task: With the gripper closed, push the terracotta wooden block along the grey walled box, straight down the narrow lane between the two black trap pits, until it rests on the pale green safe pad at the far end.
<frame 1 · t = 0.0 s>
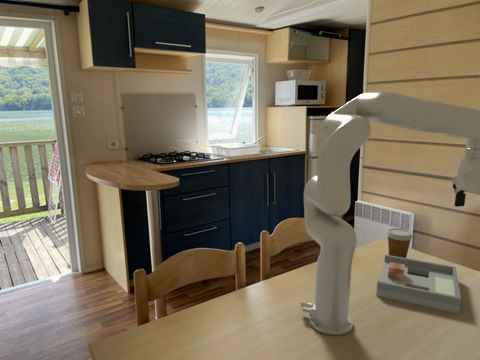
hand: (472, 210, 112), 31 cm above the table, tool pointing down, fingers open, 9 cm apart
block: (395, 276, 132), point 2 cm above the table, touching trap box
disposable coffee cup: (396, 259, 152), on the table
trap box: (416, 287, 129), on the table
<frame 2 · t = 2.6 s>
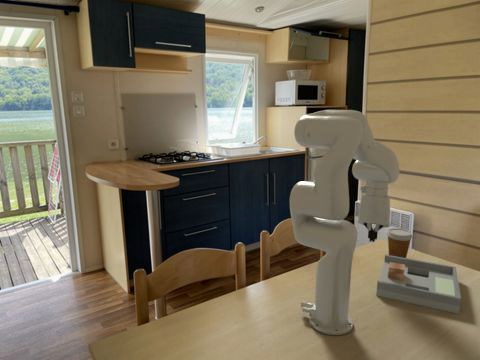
hand: (372, 240, 133), 14 cm above the table, tool pointing down, fingers closed
nothing on the table moved.
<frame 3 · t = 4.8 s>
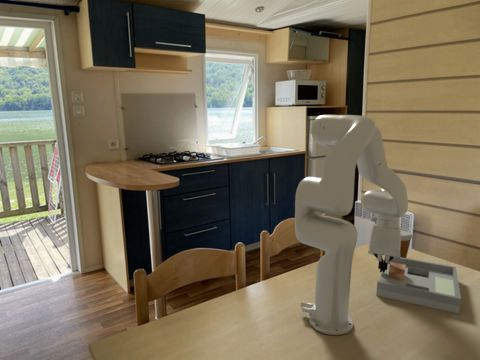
hand: (382, 270, 133), 4 cm above the table, tool pointing down, fingers closed
block: (396, 276, 131), point 2 cm above the table, touching gripper, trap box
everything else where it was.
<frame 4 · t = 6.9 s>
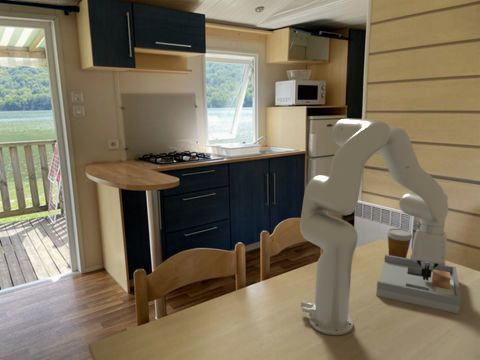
hand: (425, 278, 127), 4 cm above the table, tool pointing down, fingers closed
block: (440, 284, 126), point 2 cm above the table, touching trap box
everything else where it was.
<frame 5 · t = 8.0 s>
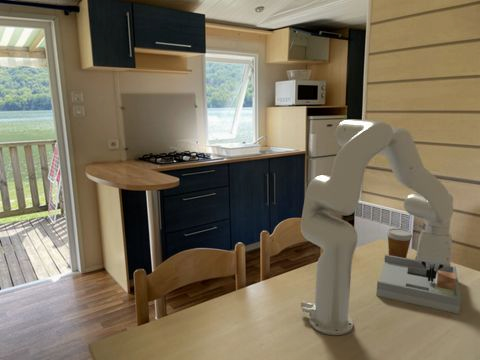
hand: (430, 279, 127), 4 cm above the table, tool pointing down, fingers closed
block: (445, 285, 125), point 2 cm above the table, touching gripper, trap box
everything else where it was.
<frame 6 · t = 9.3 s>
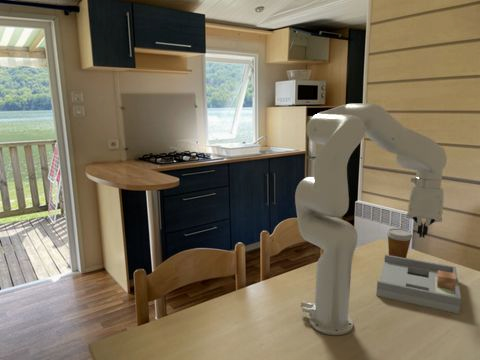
hand: (421, 236, 125), 19 cm above the table, tool pointing down, fingers closed
block: (445, 285, 125), point 2 cm above the table, touching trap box
everything else where it was.
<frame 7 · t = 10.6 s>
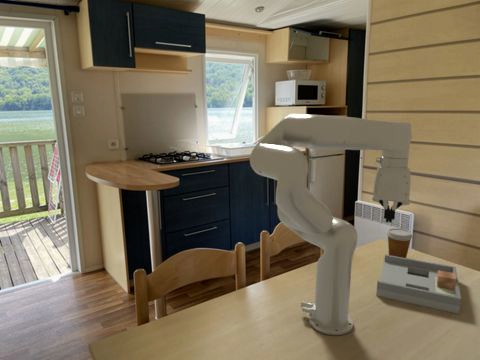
hand: (388, 221, 115), 27 cm above the table, tool pointing down, fingers closed
nothing on the table moved.
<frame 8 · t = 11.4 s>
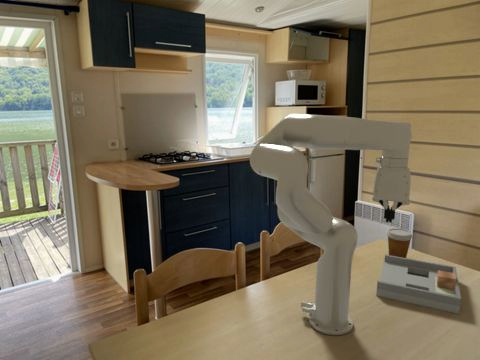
hand: (388, 221, 115), 27 cm above the table, tool pointing down, fingers closed
nothing on the table moved.
at the end: block inside the target area on the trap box (0.5 cm from its centre), point 2.5 cm above the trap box's base; block tilted 0° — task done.
